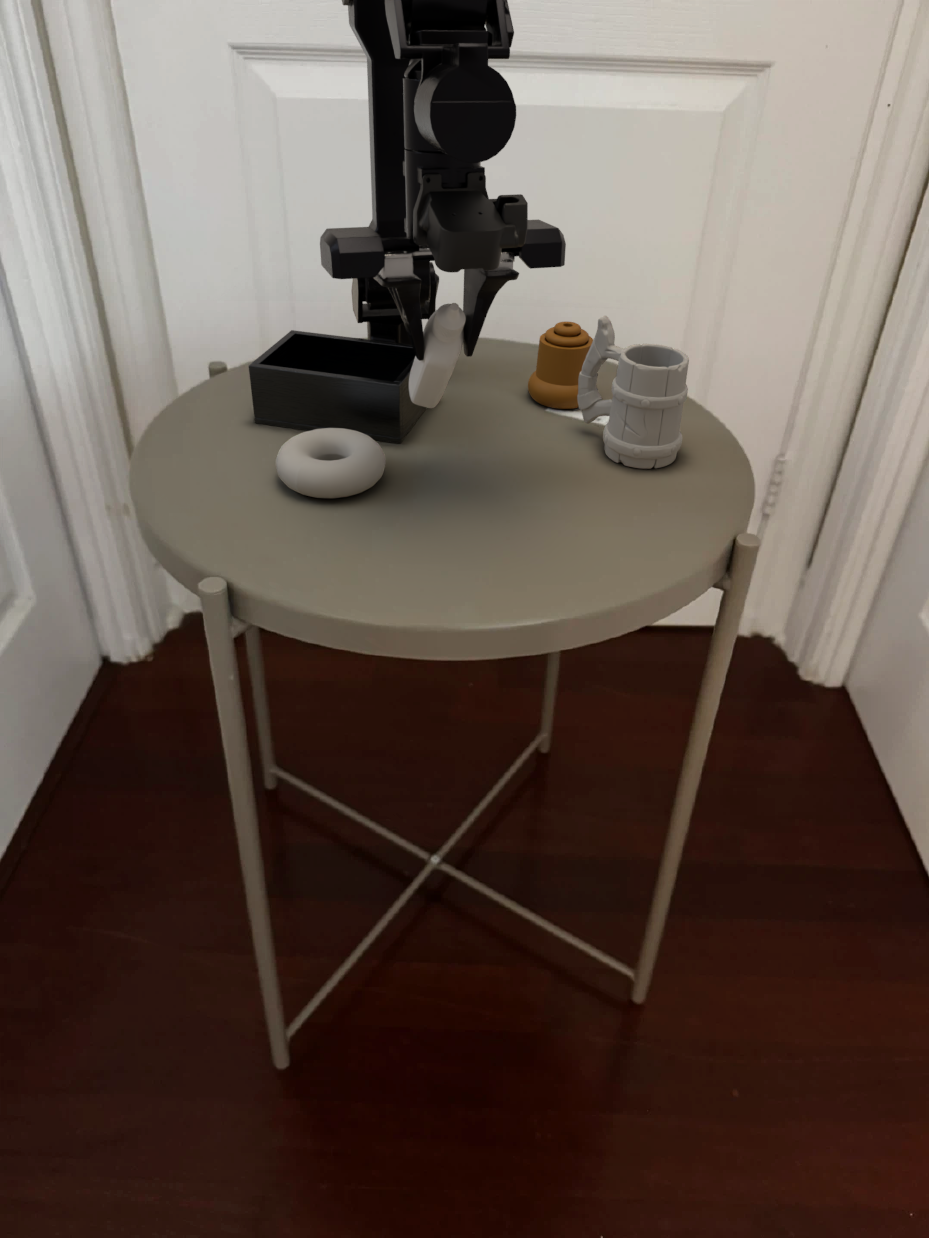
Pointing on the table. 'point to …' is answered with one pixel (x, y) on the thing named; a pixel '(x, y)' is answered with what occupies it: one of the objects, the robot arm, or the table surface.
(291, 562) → the table surface
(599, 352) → the mug
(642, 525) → the table surface
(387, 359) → the black open box
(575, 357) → the orange brown bell-shaped piece
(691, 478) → the table surface
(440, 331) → the eye dropper bottle
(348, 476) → the donut
